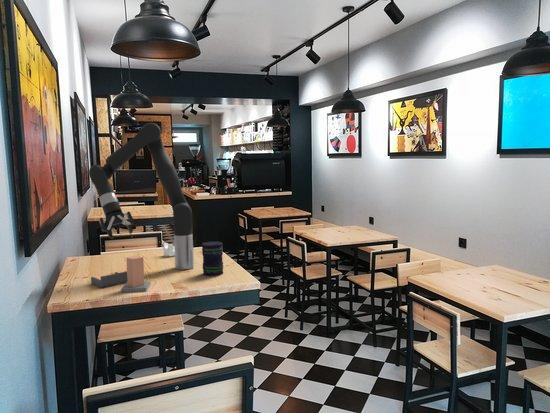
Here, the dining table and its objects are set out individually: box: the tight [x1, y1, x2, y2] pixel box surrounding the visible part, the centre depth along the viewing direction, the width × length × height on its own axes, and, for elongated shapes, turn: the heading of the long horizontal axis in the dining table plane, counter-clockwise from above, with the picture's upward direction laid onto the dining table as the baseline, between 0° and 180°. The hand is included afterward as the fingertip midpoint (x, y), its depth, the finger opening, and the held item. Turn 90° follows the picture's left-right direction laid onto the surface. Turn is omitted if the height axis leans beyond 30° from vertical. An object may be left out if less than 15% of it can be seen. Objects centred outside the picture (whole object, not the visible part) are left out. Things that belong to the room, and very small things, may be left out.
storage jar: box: [201, 240, 224, 277], centre depth 196 cm, size 10×10×15 cm
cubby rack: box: [90, 270, 128, 289], centre depth 183 cm, size 11×12×5 cm
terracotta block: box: [125, 255, 145, 287], centre depth 174 cm, size 5×5×12 cm
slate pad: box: [120, 280, 151, 293], centre depth 174 cm, size 10×10×2 cm
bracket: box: [163, 242, 175, 257], centre depth 242 cm, size 13×7×8 cm, turn 131°
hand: (121, 235), depth 187 cm, fingers open, 8 cm apart
